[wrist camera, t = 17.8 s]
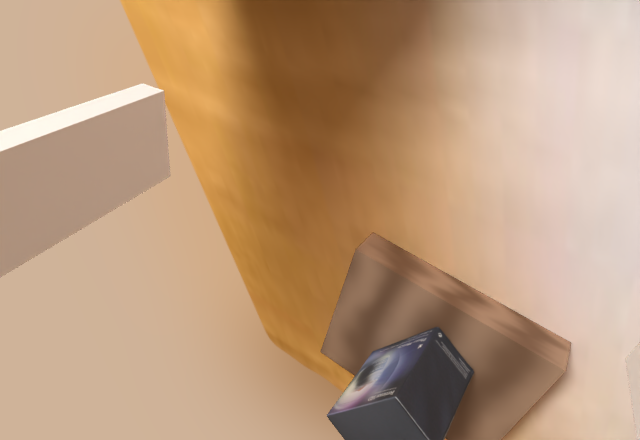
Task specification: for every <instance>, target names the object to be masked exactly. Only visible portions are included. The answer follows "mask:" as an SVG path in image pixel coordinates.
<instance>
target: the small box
mask: <svg viewBox="0 0 640 440" xmlns="http://www.w3.org/2000/svg"><path fill="white" fill-rule="evenodd" d="M473 375H474V371H473V369H472V368H471V367H470V365H469V364H468V363H467V362H466V361H465V359H464V358H463V357H462V356H461V354H460V353H459V352H458V351H457V349H456V348H455V347H454V345H453V344H452V343H451V342H450V340H449V339H448V337H447V336H446V335H445V334H444V333H443V332H442V330H441V329H440V328H439V327H435V328H432V329H430V330H427V331H424V332H422V333H419V334H417V335H414V336H411V337H409V338H406V339H404V340H401V341H398V342H396V343H393V344H391V345H388V346H385V347H383V348H380V349H378V350H375V351H373V352H372V353H371V354H370V356H369V357H368V359H367V360H366V361H365V363H364V364H363V366H362V367H361V369H360V370H359V371H358V373H357V374H356V375H355V377H354V378H353V380H352V381H351V383H350V384H349V385H348V387H347V388H346V389H345V391H344V392H343V394H342V395H341V396H340V398H339V399H338V401H337V402H336V404H335V405H334V406H333V407H332V409H331V410H330V412H329V413H328V414H327V417H328V418H329V420H330V421H331V422H332V424H333V425H334V426H335V428H336V429H337V430H338V432H339V433H340V434H341V435H342V437H343V438H344V439H345V440H444V439H445V436H446V434H447V432H448V430H449V428H450V425H451V423H452V421H453V419H454V416H455V414H456V411H457V409H458V407H459V404H460V402H461V400H462V398H463V396H464V393H465V391H466V389H467V387H468V385H469V383H470V381H471V379H472V377H473Z"/></svg>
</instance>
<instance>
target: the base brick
mask: <svg viewBox="0 0 640 440" xmlns="http://www.w3.org/2000/svg"><path fill="white" fill-rule="evenodd" d="M435 327H439V328H440V329H441V330H442V332H443V333H444V334H445V335H446V336H447V337H448V339H449V340H450V342H451V343H452V344H453V345H454V347H455V348H456V349H457V351H458V352H459V353H460V354H461V356H462V357H463V358H464V359H465V361H466V362H467V363H468V364H469V365H470V367H471V368H472V369H473V371H474V375H473V377H472V379H471V381H470V383H469V385H468V387H467V389H466V391H465V393H464V396H463V398H462V400H461V402H460V404H459V407H458V409H457V411H456V414H455V416H454V419H453V421H452V423H451V425H450V428H449V430H448V432H447V434H446V436H445V438H446V439H447V440H501V439H502V438H503V437H504V436H505V435H506V434H507V433H508V432H509V431H510V430H511V429H512V428H513V427H514V426H515V425H516V424H517V422H518V421H519V420H520V419H521V418H522V417H523V416H524V415H525V414H526V413H527V412H528V411H529V410H530V409H531V408H532V406H533V405H534V404H535V403H536V402H537V401H538V400H539V399H540V398H541V397H542V396H543V395H544V394H545V393H546V392H547V391H548V389H549V388H550V387H551V386H552V385H553V384H554V383H555V382H556V381H557V380H558V379H559V378H560V377H561V376H562V375H563V374H564V372H565V371H566V368H567V362H568V357H569V351H570V346H571V342H569V341H567V340H565V339H563V338H562V337H560V336H558V335H556V334H554V333H553V332H551V331H549V330H547V329H545V328H544V327H542V326H540V325H538V324H536V323H535V322H533V321H531V320H529V319H527V318H526V317H524V316H522V315H520V314H518V313H517V312H515V311H513V310H511V309H509V308H508V307H506V306H504V305H502V304H500V303H499V302H497V301H495V300H493V299H491V298H490V297H488V296H486V295H484V294H482V293H481V292H479V291H477V290H475V289H473V288H472V287H470V286H468V285H466V284H465V283H463V282H461V281H459V280H457V279H456V278H454V277H452V276H450V275H448V274H447V273H445V272H443V271H441V270H439V269H438V268H436V267H434V266H432V265H430V264H429V263H427V262H425V261H423V260H421V259H420V258H418V257H416V256H414V255H412V254H411V253H409V252H407V251H405V250H403V249H402V248H400V247H398V246H396V245H394V244H393V243H391V242H389V241H387V240H385V239H384V238H382V237H380V236H378V235H376V234H375V233H372V234H371V235H370V236H369V237H368V238H367V239H366V240H365V241H364V242H363V243H362V244H361V245H360V246H359V247H358V248H357V249H356V250H355V253H354V256H353V259H352V262H351V265H350V268H349V271H348V274H347V276H346V279H345V282H344V285H343V288H342V291H341V294H340V297H339V300H338V302H337V305H336V308H335V311H334V314H333V317H332V320H331V323H330V326H329V329H328V331H327V334H326V337H325V340H324V343H323V346H322V349H321V353H323V354H324V355H326V356H327V357H329V358H330V359H332V360H333V361H334V362H336V363H337V364H339V365H340V366H342V367H343V368H345V369H346V370H347V371H349V372H350V373H352V374H353V375H356V374H357V373H358V371H359V370H360V369H361V367H362V366H363V364H364V363H365V361H366V360H367V359H368V357H369V356H370V354H371V353H372V352H373V351H375V350H378V349H380V348H383V347H385V346H388V345H391V344H393V343H396V342H398V341H401V340H404V339H406V338H409V337H411V336H414V335H417V334H419V333H422V332H424V331H427V330H430V329H432V328H435Z"/></svg>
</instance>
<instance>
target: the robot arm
mask: <svg viewBox="0 0 640 440" xmlns="http://www.w3.org/2000/svg"><path fill="white" fill-rule="evenodd" d="M165 112H166V111H165V98H164V91H163V90H160V89H157V88H154V87H151V86H148V85H145V84H139V85H136V86H133V87H130V88H128V89H124V90H121V91H118V92H115V93H112V94H110V95H106V96H104V97H100V98H97V99H95V100H92V101H89V102H86V103H83V104H80V105H76V106H73V107H71V108H68V109H65V110H62V111H59V112H56V113H53V114H50V115H47V116H44V117H41V118H38V119H35V120H32V121H29V122H26V123H23V124H20V125H17V126H14V127H11V128H8V129H5V130H2V131H0V277H2V276H3V275H5V274H7V273H8V272H10V271H12V270H13V269H15V268H17V267H18V266H20V265H22V264H24V263H25V262H27V261H29V260H30V259H32V258H34V257H35V256H37V255H39V254H40V253H42V252H44V251H45V250H47V249H49V248H51V247H52V246H54V245H55V244H57V243H59V242H61V241H62V240H64V239H66V238H67V237H69V236H71V235H72V234H74V233H76V232H77V231H79V230H81V229H82V228H84V227H86V226H87V225H89V224H91V223H92V222H94V221H96V220H98V219H99V218H101V217H103V216H104V215H106V214H107V213H109V212H111V211H113V210H114V209H116V208H118V207H119V206H121V205H123V204H124V203H126V202H128V201H130V200H131V199H133V198H135V197H136V196H138V195H140V194H141V193H143V192H145V191H146V190H148V189H149V188H151V187H153V186H155V185H156V184H158V183H160V182H161V181H163V180H165V179H167V178H168V177H170V166H169V153H168V140H167V126H166V113H165ZM625 360H626V367H627V374H628V381H629V388H630V395H631V402H632V409H633V415H634V422H635V429H636V436H637V440H640V342H639V344H638V345H637V346H636V347H635V348H634V349H633V351H632V352H631V353H630V354H629V355H628V356H627V357H626V359H625Z"/></svg>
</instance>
